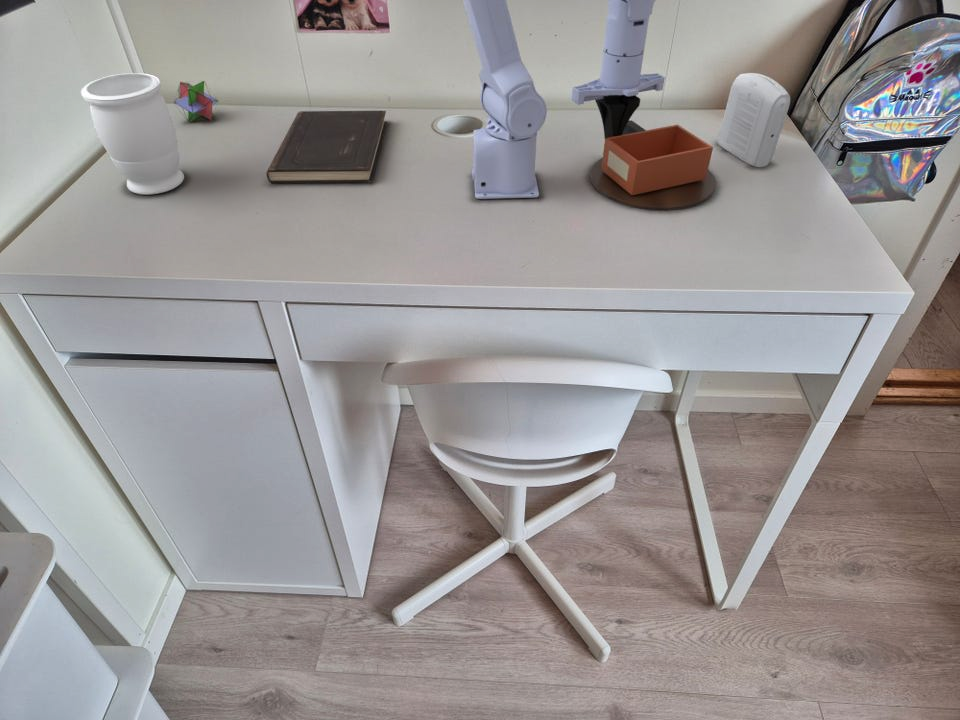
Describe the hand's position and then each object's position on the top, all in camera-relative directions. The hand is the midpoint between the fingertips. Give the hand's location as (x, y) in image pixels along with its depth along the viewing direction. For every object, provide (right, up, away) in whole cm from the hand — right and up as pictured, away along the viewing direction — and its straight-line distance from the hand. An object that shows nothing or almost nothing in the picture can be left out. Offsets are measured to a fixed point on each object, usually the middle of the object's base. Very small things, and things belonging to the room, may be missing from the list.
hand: (611, 142), depth 102 cm
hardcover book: (-45, +1, +8) cm, 46 cm away
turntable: (+6, -6, -1) cm, 9 cm away
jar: (-71, -7, 0) cm, 71 cm away
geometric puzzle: (-72, +10, +18) cm, 75 cm away
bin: (+5, -4, 0) cm, 7 cm away
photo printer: (+23, 0, +5) cm, 23 cm away
